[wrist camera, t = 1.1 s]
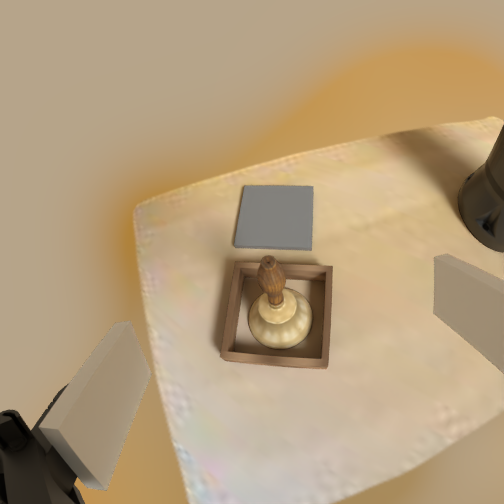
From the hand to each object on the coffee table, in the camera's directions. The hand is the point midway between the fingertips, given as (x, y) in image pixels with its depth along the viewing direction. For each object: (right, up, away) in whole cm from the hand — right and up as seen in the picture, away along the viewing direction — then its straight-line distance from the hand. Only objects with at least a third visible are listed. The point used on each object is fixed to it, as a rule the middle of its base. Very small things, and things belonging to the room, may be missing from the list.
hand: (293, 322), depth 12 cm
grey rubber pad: (+2, +8, +35) cm, 36 cm away
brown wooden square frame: (+2, -6, +28) cm, 28 cm away
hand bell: (+2, -6, +28) cm, 29 cm away
